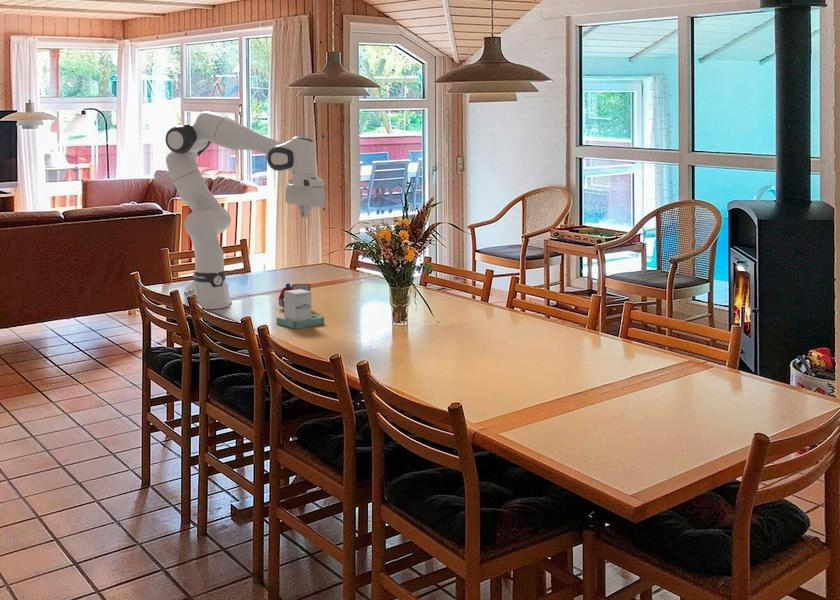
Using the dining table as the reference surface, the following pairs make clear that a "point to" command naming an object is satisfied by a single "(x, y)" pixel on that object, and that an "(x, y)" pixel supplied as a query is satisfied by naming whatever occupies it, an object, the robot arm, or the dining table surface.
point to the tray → (303, 323)
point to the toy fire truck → (294, 287)
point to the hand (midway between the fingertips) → (304, 217)
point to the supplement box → (297, 305)
